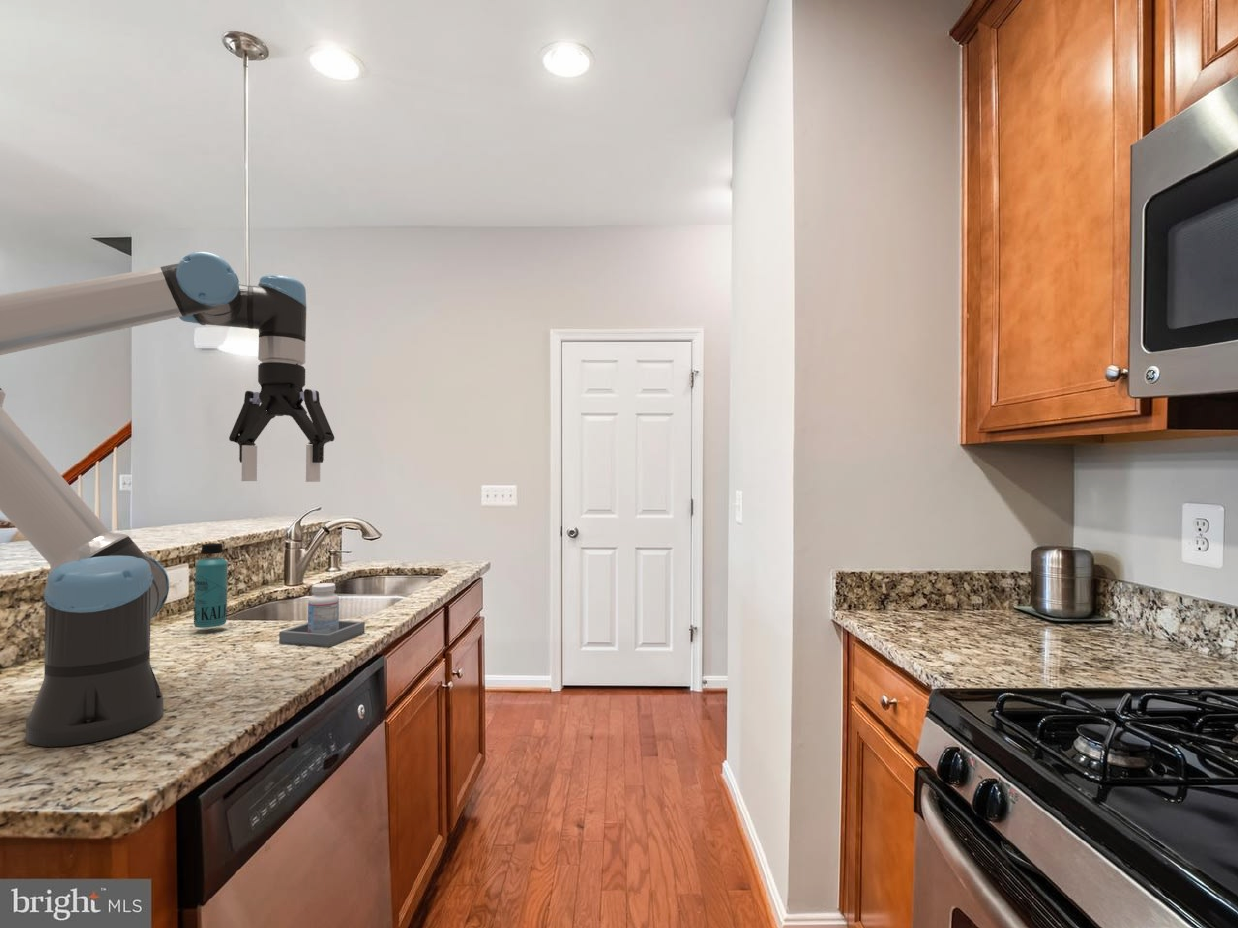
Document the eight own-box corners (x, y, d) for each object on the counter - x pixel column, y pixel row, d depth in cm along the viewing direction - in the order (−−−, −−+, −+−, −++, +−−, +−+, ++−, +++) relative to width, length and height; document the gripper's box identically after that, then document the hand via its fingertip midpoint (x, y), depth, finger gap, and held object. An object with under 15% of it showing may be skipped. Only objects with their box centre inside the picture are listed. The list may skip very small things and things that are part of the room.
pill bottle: (311, 633, 138) (312, 582, 138) (341, 631, 140) (341, 581, 140) (304, 640, 132) (305, 587, 132) (335, 638, 134) (335, 586, 134)
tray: (328, 647, 129) (328, 635, 129) (279, 643, 132) (279, 631, 132) (364, 633, 141) (364, 622, 141) (318, 629, 143) (318, 618, 143)
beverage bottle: (202, 627, 145) (204, 541, 145) (233, 627, 145) (234, 541, 146) (186, 635, 138) (187, 545, 138) (218, 634, 139) (219, 544, 139)
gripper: (355, 365, 113) (354, 481, 113) (241, 369, 119) (240, 480, 119) (327, 358, 106) (326, 482, 106) (207, 363, 112) (205, 481, 111)
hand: (280, 481), depth 112 cm, fingers open, 13 cm apart
